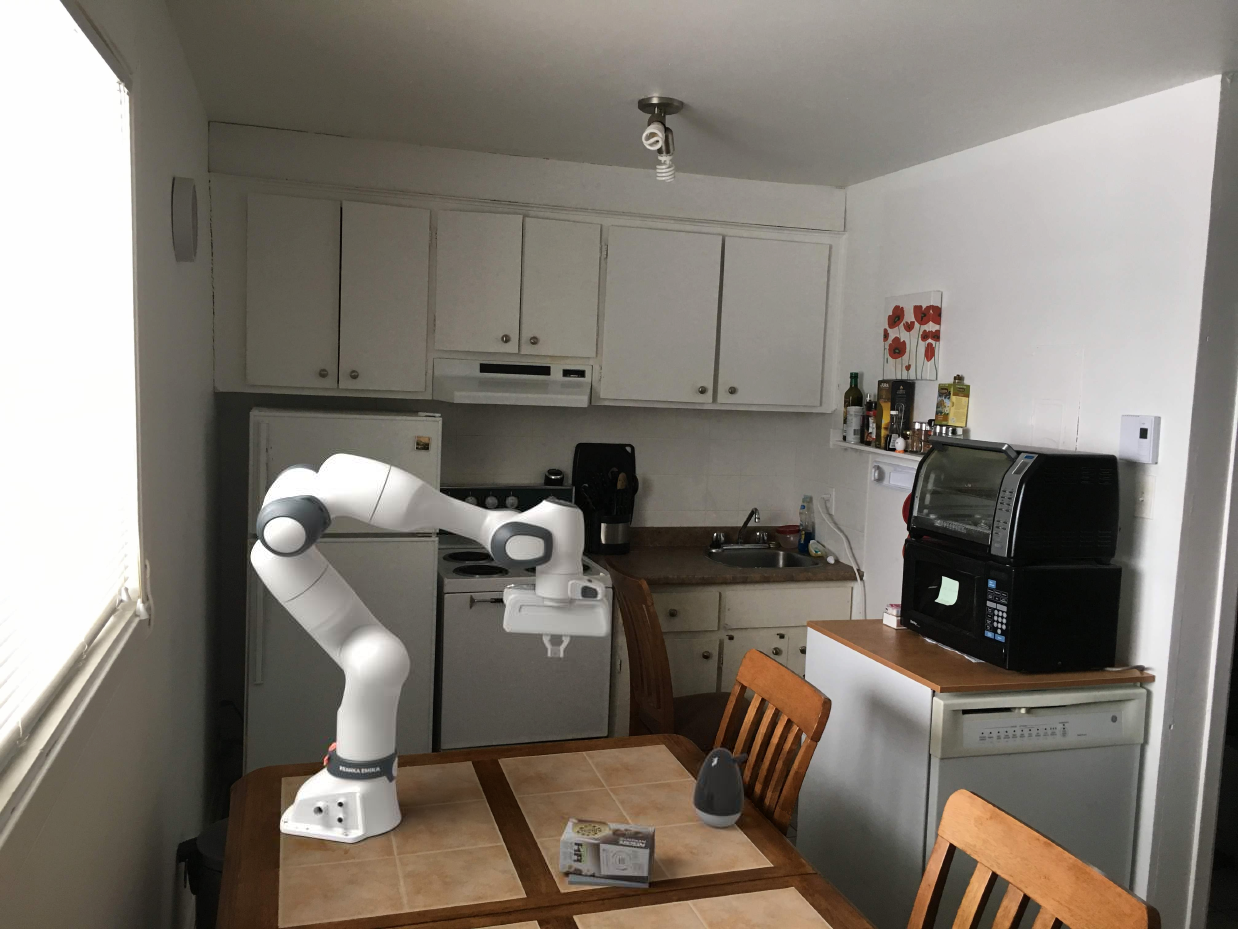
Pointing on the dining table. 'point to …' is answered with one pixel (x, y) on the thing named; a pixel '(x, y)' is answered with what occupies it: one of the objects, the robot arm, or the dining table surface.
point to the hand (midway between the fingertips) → (555, 656)
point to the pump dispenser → (719, 789)
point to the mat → (602, 881)
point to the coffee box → (607, 850)
